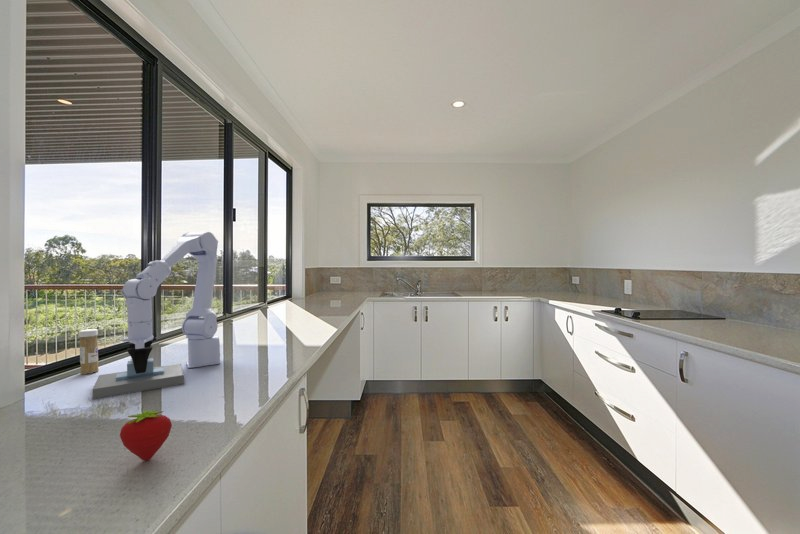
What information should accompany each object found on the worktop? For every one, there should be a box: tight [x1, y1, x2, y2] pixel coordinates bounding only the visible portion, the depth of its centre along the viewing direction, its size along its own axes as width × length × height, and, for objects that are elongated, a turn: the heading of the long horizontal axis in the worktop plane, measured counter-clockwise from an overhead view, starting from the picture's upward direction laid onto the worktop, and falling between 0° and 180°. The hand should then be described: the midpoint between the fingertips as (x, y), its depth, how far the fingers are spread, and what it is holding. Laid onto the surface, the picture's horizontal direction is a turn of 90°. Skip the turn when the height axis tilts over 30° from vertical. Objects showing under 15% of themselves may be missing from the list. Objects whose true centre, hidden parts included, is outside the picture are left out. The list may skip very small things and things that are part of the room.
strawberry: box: [119, 404, 173, 462], centre depth 65 cm, size 6×8×10 cm
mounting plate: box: [92, 363, 185, 399], centre depth 105 cm, size 20×14×2 cm
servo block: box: [116, 357, 164, 381], centre depth 105 cm, size 11×4×7 cm, turn 123°
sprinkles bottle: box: [78, 328, 100, 375], centre depth 117 cm, size 5×5×14 cm
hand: (141, 369), depth 105 cm, fingers open, 7 cm apart
